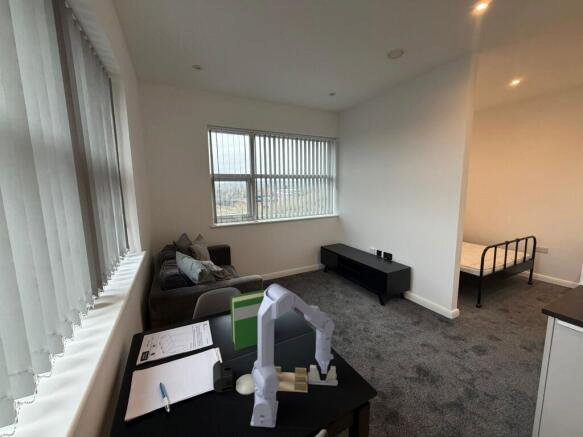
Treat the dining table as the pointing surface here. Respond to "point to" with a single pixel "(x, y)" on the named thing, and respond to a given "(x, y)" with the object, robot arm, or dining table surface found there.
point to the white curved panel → (315, 374)
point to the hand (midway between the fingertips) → (322, 376)
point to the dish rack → (292, 380)
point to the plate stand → (329, 382)
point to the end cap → (222, 376)
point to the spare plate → (245, 384)
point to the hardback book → (245, 318)
